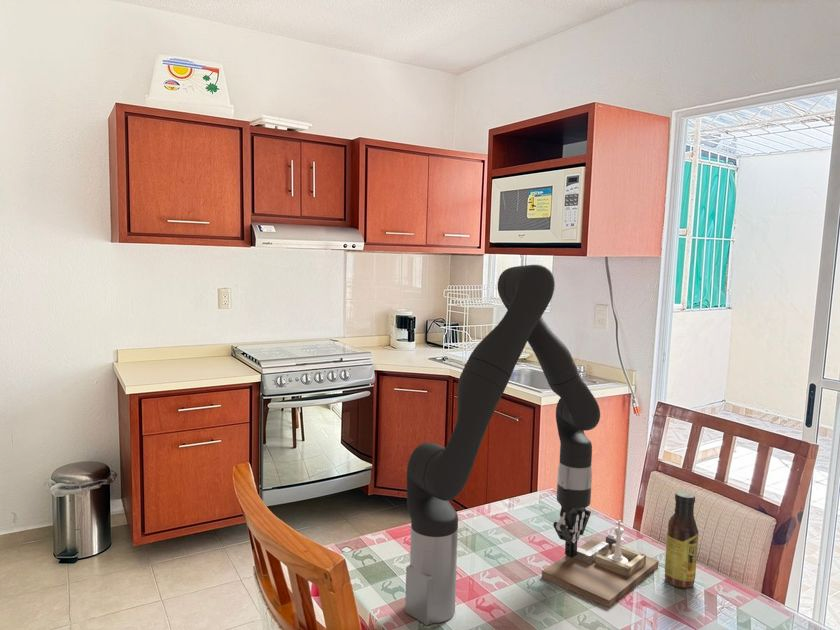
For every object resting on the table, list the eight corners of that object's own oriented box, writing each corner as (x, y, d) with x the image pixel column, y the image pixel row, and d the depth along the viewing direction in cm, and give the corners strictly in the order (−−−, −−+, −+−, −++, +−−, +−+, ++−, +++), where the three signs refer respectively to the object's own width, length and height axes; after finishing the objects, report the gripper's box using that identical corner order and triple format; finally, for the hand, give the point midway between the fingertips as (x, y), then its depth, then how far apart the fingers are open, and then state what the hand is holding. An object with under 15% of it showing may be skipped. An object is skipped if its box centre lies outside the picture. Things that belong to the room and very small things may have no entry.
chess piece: (612, 555, 141) (614, 514, 140) (632, 562, 137) (634, 520, 136) (602, 562, 137) (604, 520, 136) (622, 570, 134) (625, 527, 133)
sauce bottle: (692, 593, 128) (698, 503, 126) (661, 584, 131) (667, 496, 130) (696, 579, 134) (702, 493, 132) (666, 571, 137) (672, 487, 135)
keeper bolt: (589, 564, 136) (589, 556, 136) (566, 555, 140) (566, 546, 140) (608, 551, 142) (608, 543, 142) (585, 542, 146) (585, 535, 146)
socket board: (608, 607, 122) (609, 591, 121) (541, 577, 133) (542, 562, 133) (658, 566, 139) (659, 552, 138) (594, 542, 150) (595, 529, 150)
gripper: (574, 471, 143) (571, 541, 145) (544, 485, 134) (540, 559, 135) (603, 479, 138) (599, 552, 140) (573, 494, 129) (570, 572, 130)
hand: (570, 555), depth 137 cm, fingers closed
